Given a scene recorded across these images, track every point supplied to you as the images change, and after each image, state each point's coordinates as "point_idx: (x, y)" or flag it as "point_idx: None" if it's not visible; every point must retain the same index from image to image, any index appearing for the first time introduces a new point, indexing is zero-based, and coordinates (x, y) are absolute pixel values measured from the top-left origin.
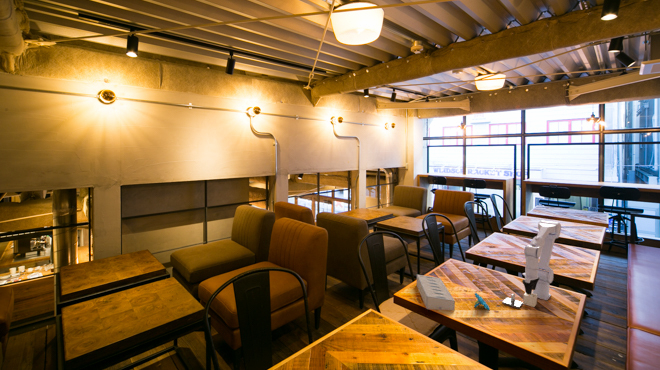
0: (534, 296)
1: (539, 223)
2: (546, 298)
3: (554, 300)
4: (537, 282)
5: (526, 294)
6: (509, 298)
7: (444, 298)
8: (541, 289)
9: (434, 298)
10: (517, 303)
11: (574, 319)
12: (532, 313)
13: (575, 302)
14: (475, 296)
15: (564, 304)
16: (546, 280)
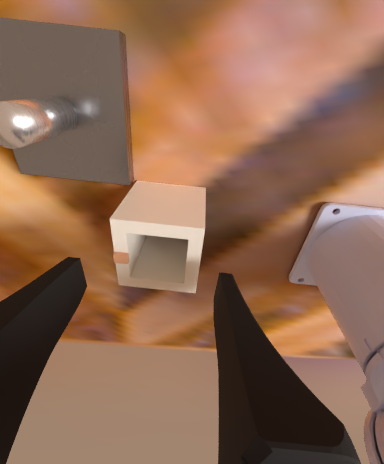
0: (137, 283)
1: None
2: (308, 279)
3: (312, 300)
4: None
5: (149, 230)
6: (110, 64)
7: None
8: (334, 307)
9: None
10: (68, 154)
11: (148, 344)
12: (50, 238)
13: (330, 350)
14: None
15: (281, 327)
16: (381, 434)
